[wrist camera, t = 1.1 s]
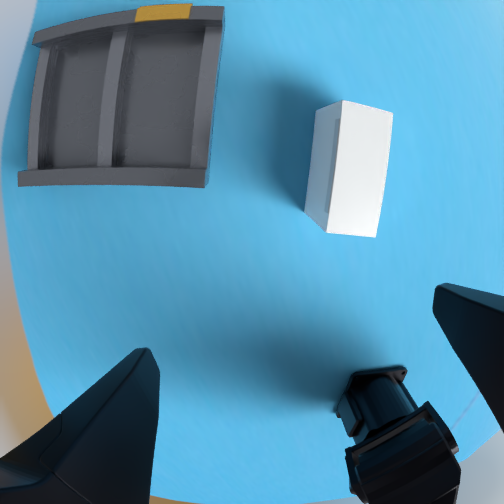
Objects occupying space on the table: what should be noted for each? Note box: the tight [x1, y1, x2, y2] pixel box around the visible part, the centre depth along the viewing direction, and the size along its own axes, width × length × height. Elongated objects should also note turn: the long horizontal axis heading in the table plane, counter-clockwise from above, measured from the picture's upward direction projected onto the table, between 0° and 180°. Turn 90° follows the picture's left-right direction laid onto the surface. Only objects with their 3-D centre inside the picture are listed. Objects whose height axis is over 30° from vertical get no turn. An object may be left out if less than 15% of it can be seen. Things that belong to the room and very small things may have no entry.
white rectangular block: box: [304, 100, 393, 237], centre depth 17 cm, size 3×7×5 cm, turn 174°
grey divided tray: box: [18, 4, 225, 188], centre depth 15 cm, size 13×11×3 cm
